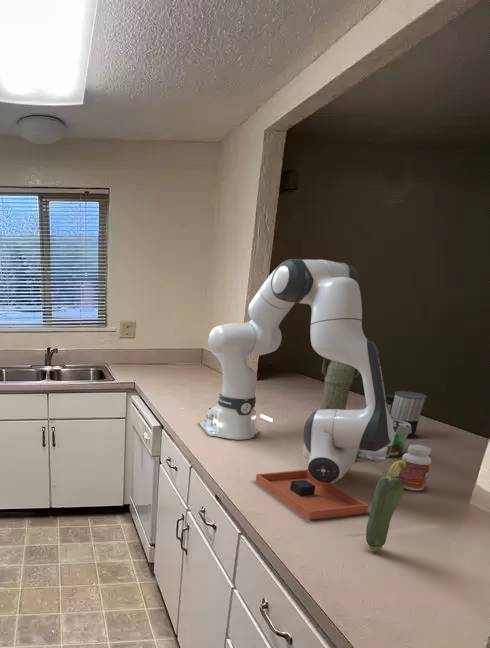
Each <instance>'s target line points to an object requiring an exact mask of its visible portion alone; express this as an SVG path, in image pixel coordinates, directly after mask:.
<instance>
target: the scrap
mask: <svg viewBox="0 0 490 648" xmlns="http://www.w3.org/2000/svg"><path fill="white" fill-rule="evenodd" d="M290 490H291V491H293V492H294V493H296V494H297V495H299V496H307V495H314V491H315V485H313V484H311V483H310V482H308V481H306V480H296V481H291V487H290Z"/></svg>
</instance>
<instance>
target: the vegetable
mask: <svg viewBox="0 0 490 648" xmlns="http://www.w3.org/2000/svg"><path fill="white" fill-rule="evenodd" d="M406 463H407V462H406V461H405V460H402V459H399V460H396V461H394V463H392V464H390V466H389V467H388V469H387V472H386V473H387V475H384V476H382V477H381V478H380V479H379V480H378V481H377V483H376V486H375V490H374V494H373V498H372V504H371V508H370V512H369V516H368V520H367V522H366V523H367V524H366V530H365V541H366V543H367V546H368V548H369V549H370V551H371V552H372V553H374V552H375V551H377V550H378V551H379V550H381V549H383V546H385V544H386V542H387V537H388V533H389V529H390V523H391V520H392V517H393V514H394V513H395V511H396V509H397V508H398V507H399V504H400V502H401V500H402V497H403V496H404V495H403V494H404V489H405V488H404V486H403V482H402V480H401V479H400V478H399V477H397V476H400V475H399V474H400V471H401V465H403V467H404V468H405V467H406Z"/></svg>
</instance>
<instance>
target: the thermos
mask: <svg viewBox="0 0 490 648" xmlns="http://www.w3.org/2000/svg"><path fill="white" fill-rule="evenodd" d="M327 362H328V359H327V358H325V357H323V362H322V367H321V373H322V375H323V376H324V383H325V384H324V389H323V395H322V400H321V405H320V408H319V409H339V410H347V409H346V408H347V404H348V399H349V394H350V389H351V386H352V384H353V382H354V379H355V378H359V376H360V374H361V373H360V372H359V371H358V370H357V369H356V368H354V367H352V366H350V365H347V364H344V363H340V362H336V361H333V360H330V359H329V363H328V364H327Z"/></svg>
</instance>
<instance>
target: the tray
mask: <svg viewBox="0 0 490 648" xmlns="http://www.w3.org/2000/svg"><path fill="white" fill-rule="evenodd" d="M296 480H306V481H308V482H310V483H311V484H313V485H315V491H314V495H307V496H299V495H297V494H296V493H294V492H293V491H291V490H290V487H291V481H296ZM255 482H256V483H258V484H259V485H260V486H262V488H264V489H265V490H267V491H268V492H269V493H271V494H273V495H274V496H275V497H276V498H277V499H279V500H281V501H282V502H283V503H285V504H286V505H288V506H289V507H290V508H291V509H293V510H294V511H295V512H297V513H299V514H300V515H301V516H302V517H304V519H306V520H308V521H312V520H319V519H328V518H336V517H345V516H353V515H363V514H367V513H368V509H369V507H370V506H369V504H367V503H366V502H364V501H363V500H361V499H360V498H359V499H358V498H357V497H355V496H354V495H351V494H350V493H349V492H347V491H345V490H343V489H341V488H339V487H338V486H336V485H334V484H333V483H332V482H331V483H324V482H320V481H318V480H316V479H314V478H313V477H312V476H311V475H310V474H309V472H308V469H298V470H287V471H286V470H285V471H277V472H267V473H256V475H255Z"/></svg>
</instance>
